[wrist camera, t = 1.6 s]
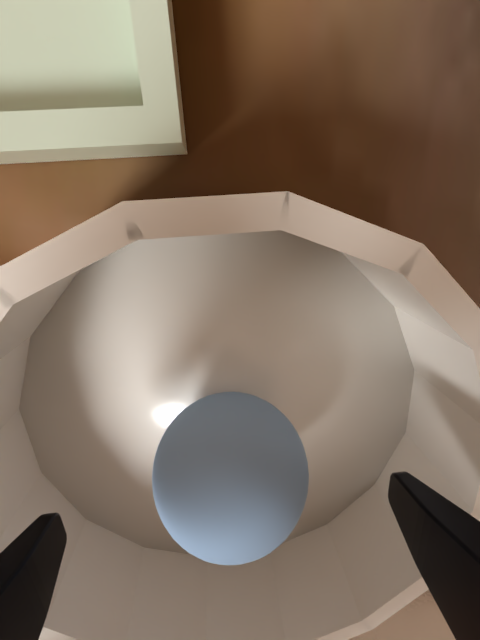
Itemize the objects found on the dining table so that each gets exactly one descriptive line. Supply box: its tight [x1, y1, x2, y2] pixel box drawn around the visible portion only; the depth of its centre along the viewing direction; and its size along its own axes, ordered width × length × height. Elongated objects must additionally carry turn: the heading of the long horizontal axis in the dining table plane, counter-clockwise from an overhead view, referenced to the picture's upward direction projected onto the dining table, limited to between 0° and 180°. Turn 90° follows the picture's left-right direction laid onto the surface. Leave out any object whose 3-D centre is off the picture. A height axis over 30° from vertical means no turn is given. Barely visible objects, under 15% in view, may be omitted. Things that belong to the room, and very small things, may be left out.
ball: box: [152, 392, 309, 565], centre depth 10 cm, size 5×5×5 cm
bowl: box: [0, 191, 480, 640], centre depth 11 cm, size 15×15×4 cm
